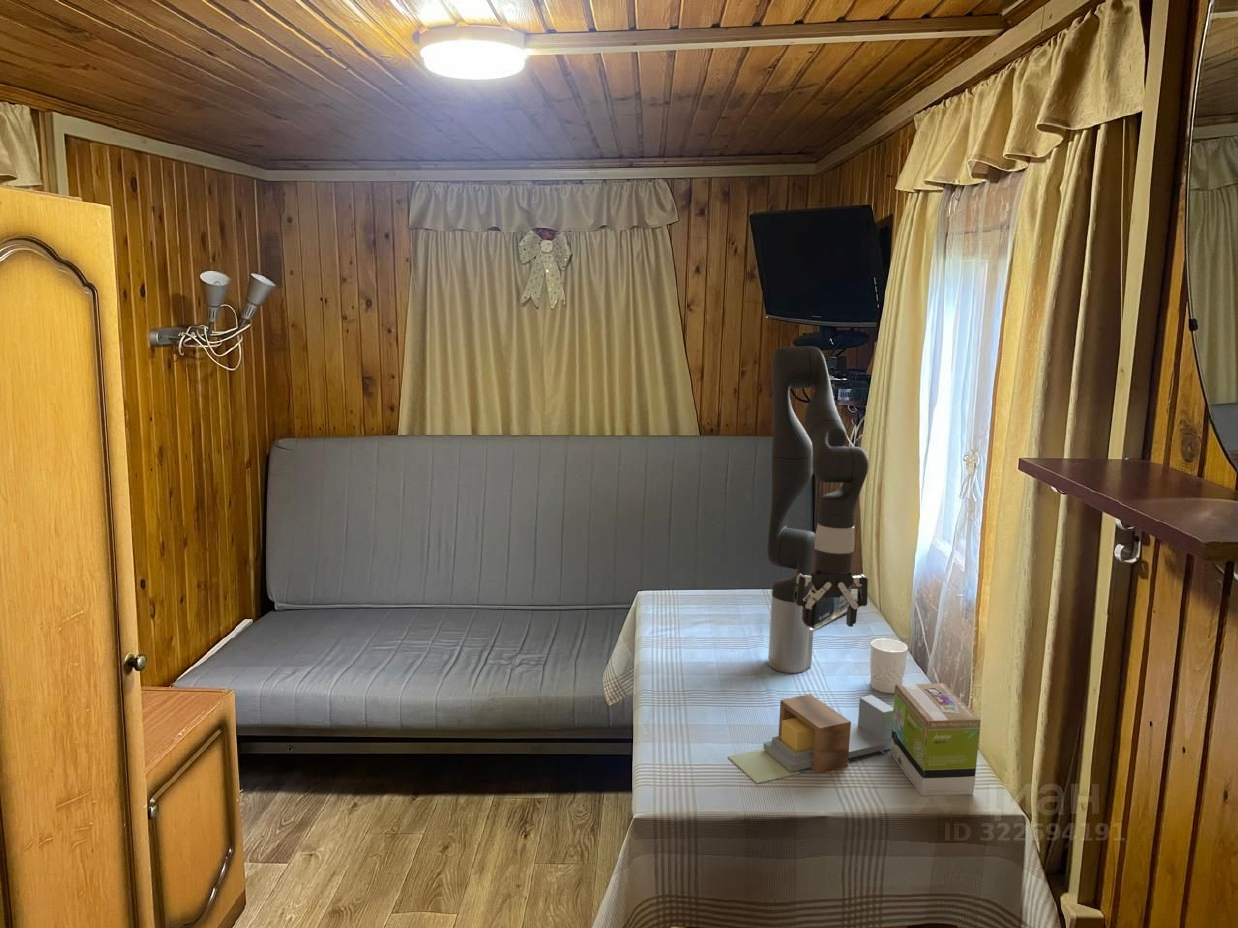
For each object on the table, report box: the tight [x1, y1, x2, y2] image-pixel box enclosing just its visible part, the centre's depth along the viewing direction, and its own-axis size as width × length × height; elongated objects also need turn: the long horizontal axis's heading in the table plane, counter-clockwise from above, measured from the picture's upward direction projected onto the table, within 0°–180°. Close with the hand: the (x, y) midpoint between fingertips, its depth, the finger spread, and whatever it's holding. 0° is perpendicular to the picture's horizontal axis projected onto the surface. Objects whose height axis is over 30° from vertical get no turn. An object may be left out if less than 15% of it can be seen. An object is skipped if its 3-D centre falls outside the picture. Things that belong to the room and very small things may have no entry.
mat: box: [727, 748, 800, 785], centre depth 164 cm, size 9×10×1 cm
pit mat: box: [848, 751, 885, 763], centre depth 172 cm, size 8×10×1 cm
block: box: [781, 717, 815, 753], centre depth 167 cm, size 5×5×5 cm
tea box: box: [889, 682, 982, 797], centre depth 161 cm, size 15×10×15 cm, turn 5°
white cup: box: [869, 638, 909, 694], centre depth 198 cm, size 8×8×10 cm
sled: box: [762, 694, 894, 772], centre depth 170 cm, size 24×9×7 cm, turn 114°
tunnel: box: [778, 694, 852, 775], centre depth 168 cm, size 7×12×9 cm, turn 24°
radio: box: [811, 565, 854, 633], centre depth 241 cm, size 23×9×15 cm, turn 133°
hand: (828, 625), depth 177 cm, fingers open, 8 cm apart
